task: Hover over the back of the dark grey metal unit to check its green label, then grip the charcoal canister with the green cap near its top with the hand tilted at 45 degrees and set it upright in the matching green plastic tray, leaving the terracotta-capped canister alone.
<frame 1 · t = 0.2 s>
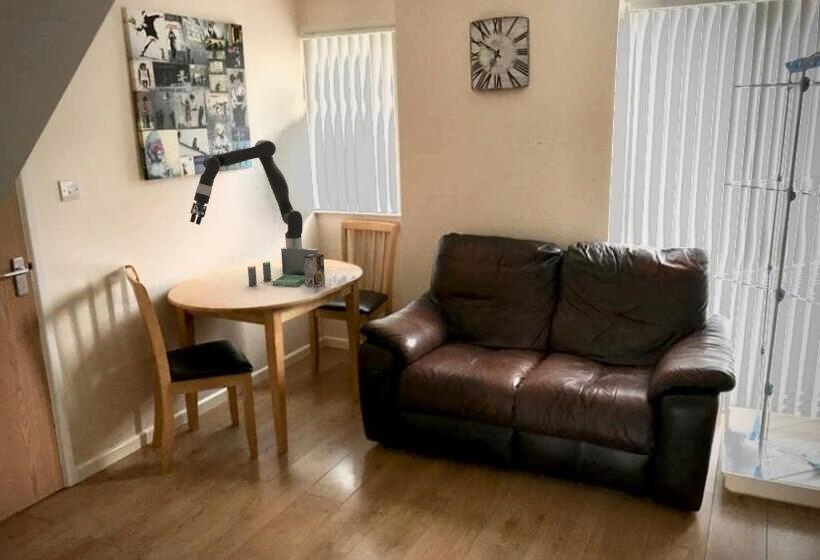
hand: (194, 223, 351), 31 cm above the table, tool tilted 20°, fingers open, 8 cm apart
green tray: (290, 282, 354), on the table
terracotta-capped canister: (252, 285, 350), on the table
green-capped canister: (267, 280, 360), on the table
coffee box: (315, 285, 349), on the table
label unit: (300, 277, 365), on the table
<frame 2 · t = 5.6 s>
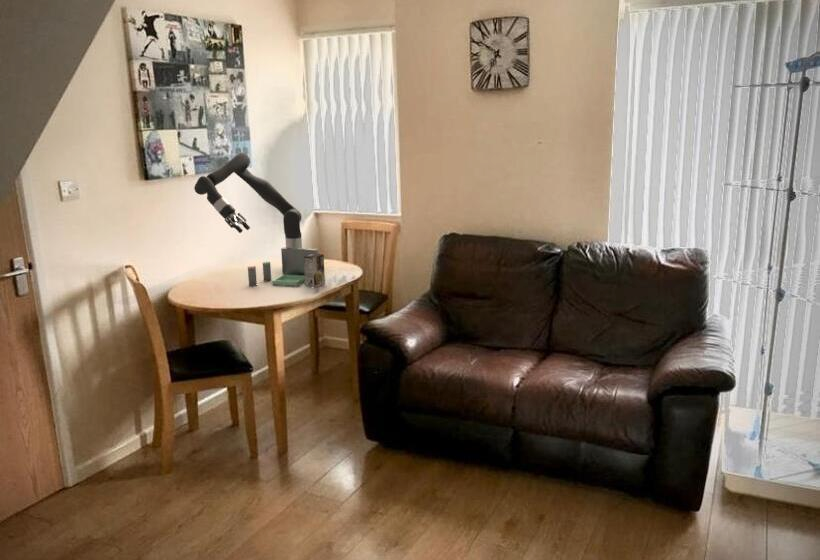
hand: (245, 230, 355), 27 cm above the table, tool tilted 45°, fingers open, 8 cm apart
nothing on the table moved.
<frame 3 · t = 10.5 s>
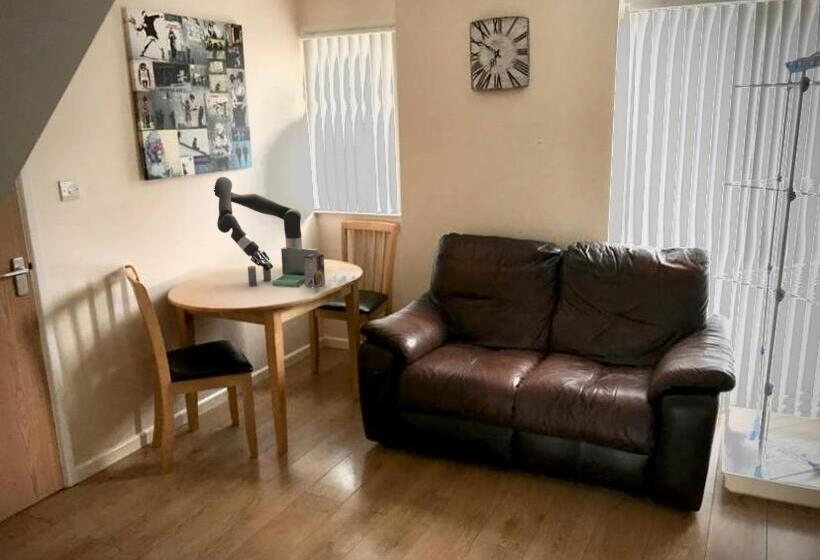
hand: (270, 268, 358), 7 cm above the table, tool tilted 45°, fingers closed on green-capped canister, 4 cm apart
green-capped canister: (267, 280, 360), on the table, touching gripper
everything else where it was.
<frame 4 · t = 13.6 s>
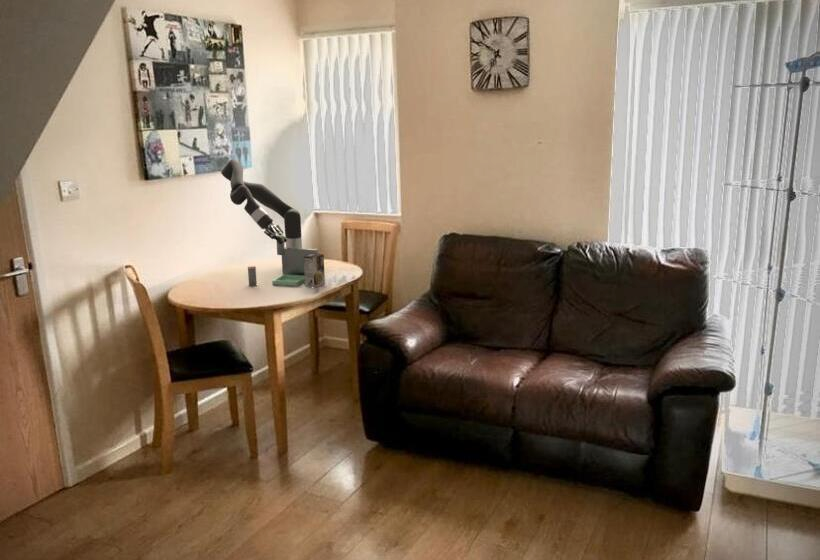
hand: (283, 242, 349), 22 cm above the table, tool tilted 45°, fingers closed on green-capped canister, 4 cm apart
green-capped canister: (280, 254, 352), point 15 cm above the table, touching gripper
everything else where it was.
when the fingers open (8 cm above the table, at t = 17.0 s): green-capped canister stays where it is, resting on green tray.
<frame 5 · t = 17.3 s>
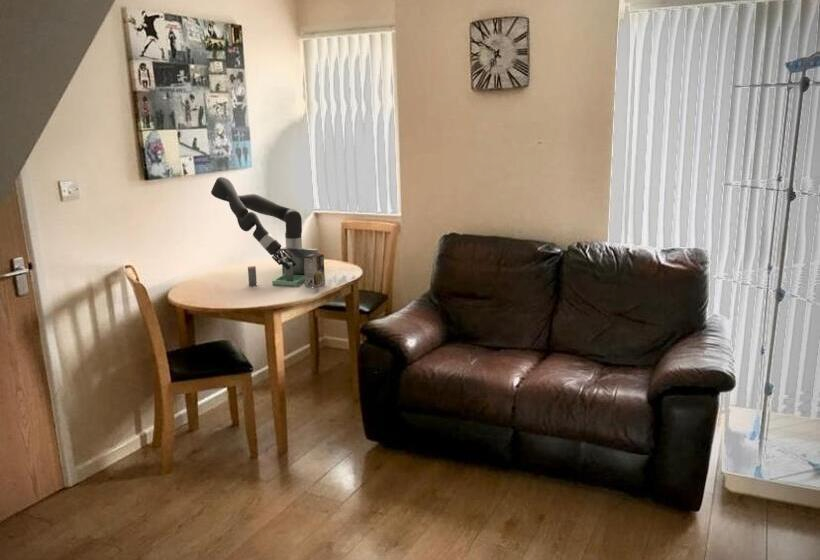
hand: (292, 267, 352), 9 cm above the table, tool tilted 45°, fingers open, 6 cm apart
green-capped canister: (289, 281, 354), point 1 cm above the table, touching green tray
everything else where it was.
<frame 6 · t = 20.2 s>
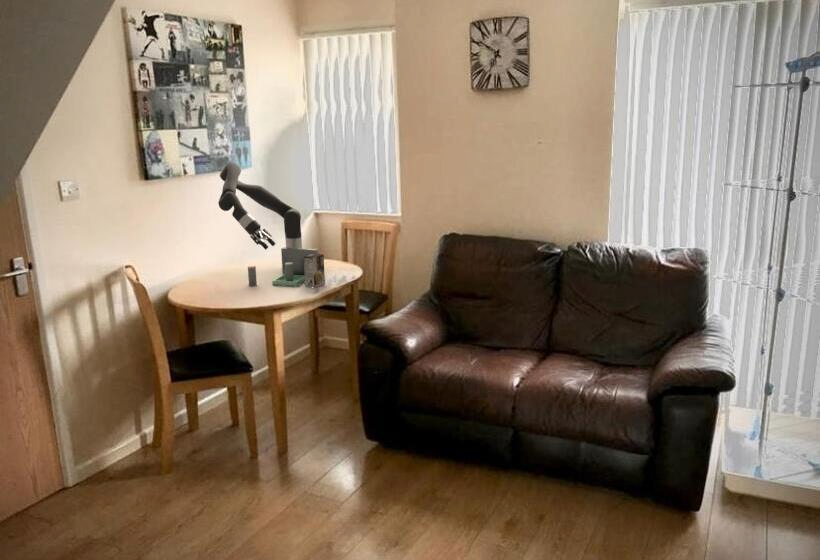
hand: (270, 246, 352), 19 cm above the table, tool tilted 45°, fingers open, 8 cm apart
nothing on the table moved.
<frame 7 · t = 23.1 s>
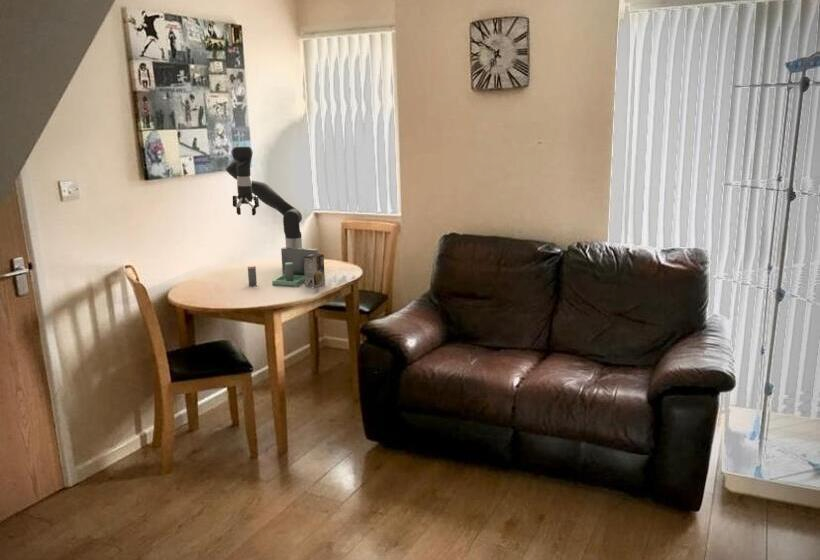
hand: (246, 215, 360), 34 cm above the table, tool pointing down, fingers open, 8 cm apart
nothing on the table moved.
at the end: green-capped canister inside the target area on the green tray (0.1 cm from its centre), point 0.6 cm above the green tray's base; green-capped canister tilted 0°; the gripper is holding nothing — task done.
